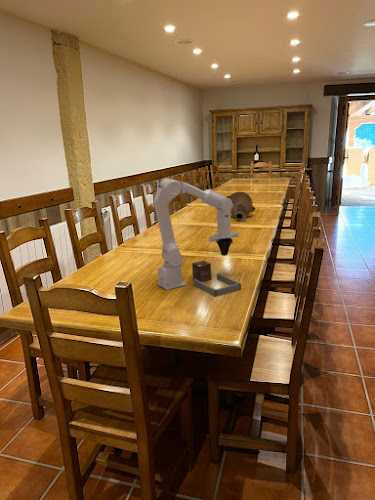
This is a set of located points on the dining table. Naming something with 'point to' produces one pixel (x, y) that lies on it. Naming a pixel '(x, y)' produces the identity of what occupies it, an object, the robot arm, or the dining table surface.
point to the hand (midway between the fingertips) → (224, 255)
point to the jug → (241, 205)
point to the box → (201, 271)
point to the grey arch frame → (216, 292)
